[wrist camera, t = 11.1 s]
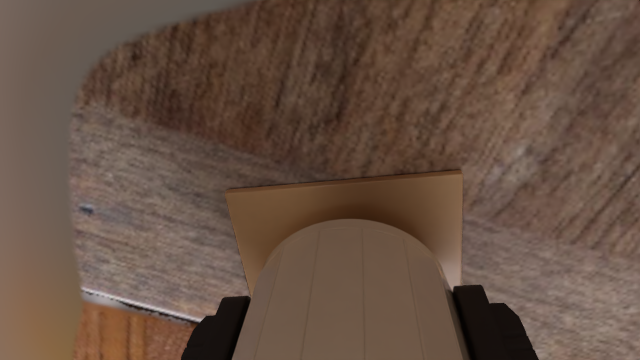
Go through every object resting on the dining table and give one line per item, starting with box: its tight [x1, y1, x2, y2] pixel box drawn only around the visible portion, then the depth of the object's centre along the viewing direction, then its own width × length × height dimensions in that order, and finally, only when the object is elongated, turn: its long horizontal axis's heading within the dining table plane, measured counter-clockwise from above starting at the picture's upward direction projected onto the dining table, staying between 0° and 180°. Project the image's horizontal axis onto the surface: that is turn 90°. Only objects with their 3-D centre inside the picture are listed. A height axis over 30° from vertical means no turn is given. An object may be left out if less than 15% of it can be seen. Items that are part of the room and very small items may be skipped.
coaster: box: [225, 170, 463, 298], centre depth 14 cm, size 7×7×1 cm
